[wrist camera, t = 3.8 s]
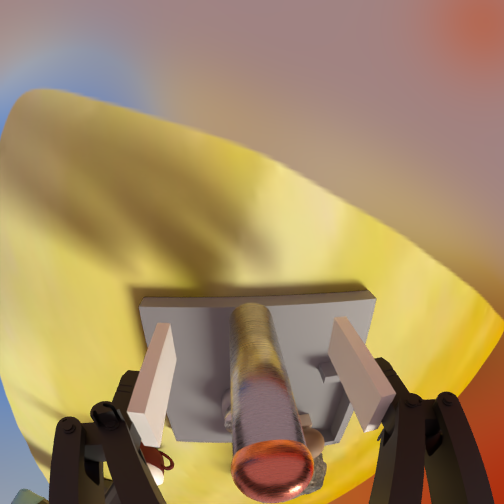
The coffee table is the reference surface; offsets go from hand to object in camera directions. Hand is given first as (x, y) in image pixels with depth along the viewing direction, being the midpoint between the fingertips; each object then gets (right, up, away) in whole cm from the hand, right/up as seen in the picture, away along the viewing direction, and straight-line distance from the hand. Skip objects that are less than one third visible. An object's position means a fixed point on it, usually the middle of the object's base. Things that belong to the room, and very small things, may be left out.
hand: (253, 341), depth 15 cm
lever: (0, -7, +5) cm, 8 cm away
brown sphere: (+5, -13, +6) cm, 15 cm away
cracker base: (0, -7, +8) cm, 11 cm away
